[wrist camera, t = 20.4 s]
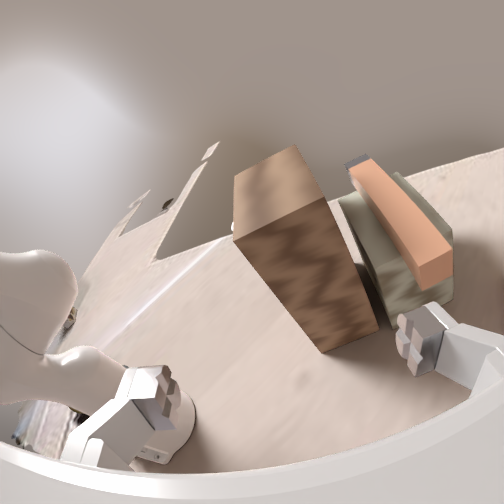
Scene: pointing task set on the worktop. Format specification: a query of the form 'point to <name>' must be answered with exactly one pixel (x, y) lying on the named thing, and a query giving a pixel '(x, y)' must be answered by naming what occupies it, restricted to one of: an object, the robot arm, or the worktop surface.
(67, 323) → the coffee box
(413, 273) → the peach rectangular bar
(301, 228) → the stand
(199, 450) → the worktop surface
